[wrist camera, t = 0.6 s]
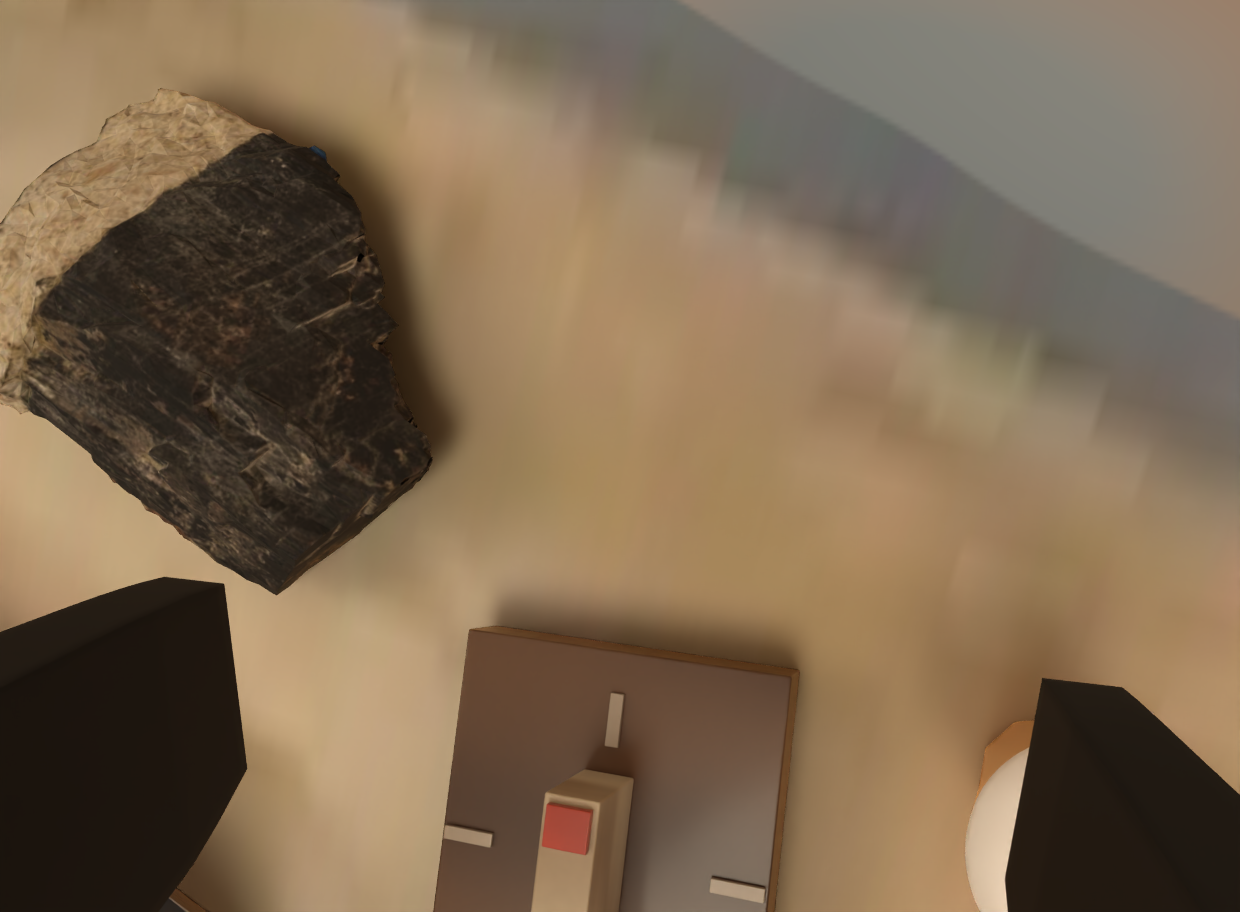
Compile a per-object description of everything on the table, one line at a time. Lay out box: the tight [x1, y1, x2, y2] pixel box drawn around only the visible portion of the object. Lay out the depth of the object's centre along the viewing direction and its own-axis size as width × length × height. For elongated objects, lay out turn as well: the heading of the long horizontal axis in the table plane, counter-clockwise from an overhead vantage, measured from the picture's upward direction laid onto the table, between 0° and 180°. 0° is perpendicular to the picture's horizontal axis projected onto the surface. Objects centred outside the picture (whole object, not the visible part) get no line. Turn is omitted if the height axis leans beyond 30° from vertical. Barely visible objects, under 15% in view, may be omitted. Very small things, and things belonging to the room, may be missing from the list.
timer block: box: [433, 626, 800, 912], centre depth 30 cm, size 11×9×2 cm
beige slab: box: [531, 769, 634, 912], centre depth 27 cm, size 5×1×3 cm, turn 173°
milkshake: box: [965, 711, 1154, 912], centre depth 23 cm, size 4×5×10 cm
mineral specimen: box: [0, 88, 433, 595], centre depth 32 cm, size 13×7×15 cm
